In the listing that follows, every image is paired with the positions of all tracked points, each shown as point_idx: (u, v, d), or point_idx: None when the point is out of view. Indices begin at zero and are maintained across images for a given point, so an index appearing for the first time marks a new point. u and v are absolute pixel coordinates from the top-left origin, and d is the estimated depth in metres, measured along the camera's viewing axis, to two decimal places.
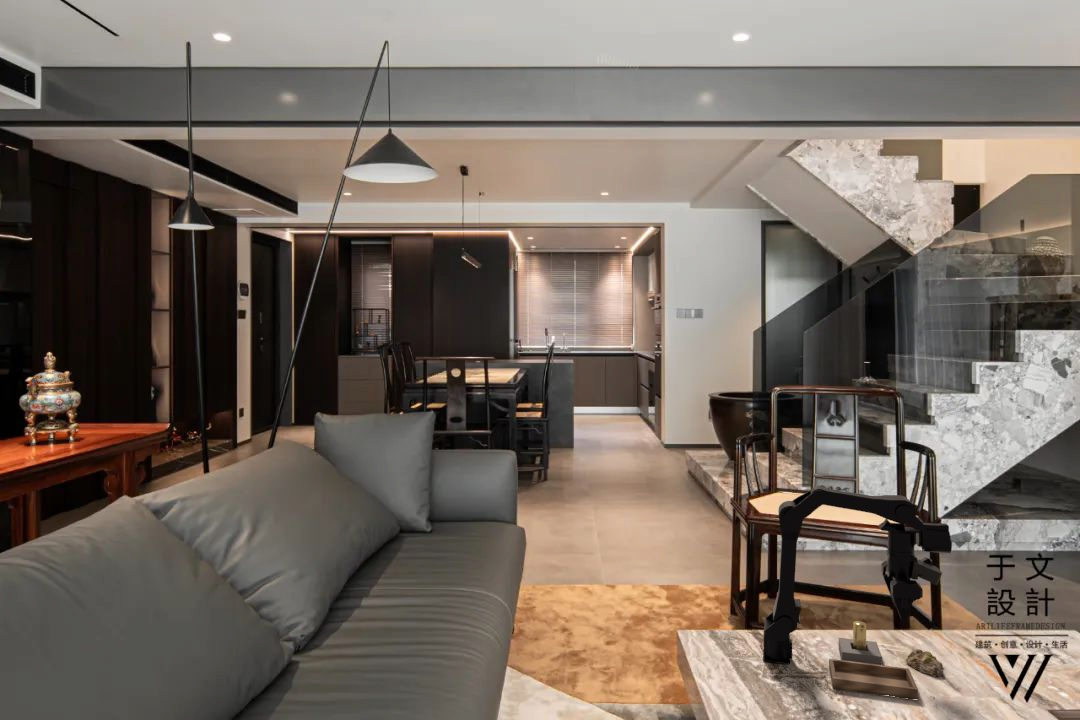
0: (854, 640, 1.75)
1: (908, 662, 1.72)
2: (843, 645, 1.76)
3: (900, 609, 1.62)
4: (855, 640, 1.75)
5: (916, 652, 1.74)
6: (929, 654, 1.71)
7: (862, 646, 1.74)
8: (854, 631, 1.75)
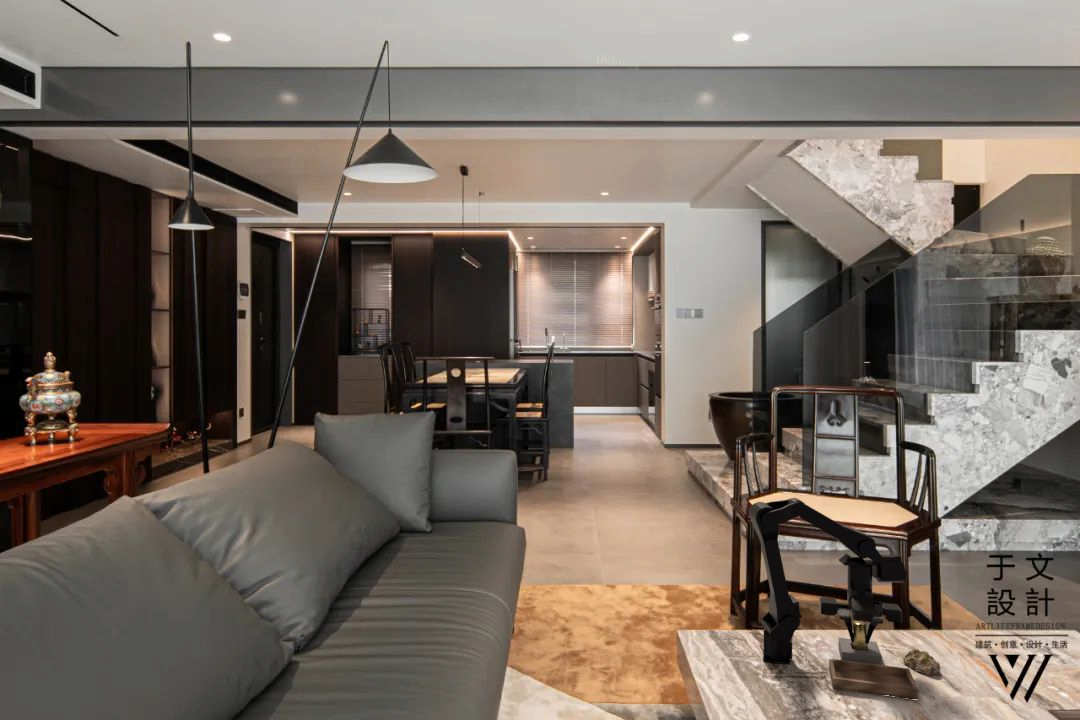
0: (854, 640, 1.75)
1: (905, 662, 1.72)
2: (843, 645, 1.76)
3: None
4: (855, 640, 1.75)
5: (913, 652, 1.74)
6: (926, 654, 1.71)
7: (862, 646, 1.74)
8: (854, 631, 1.75)
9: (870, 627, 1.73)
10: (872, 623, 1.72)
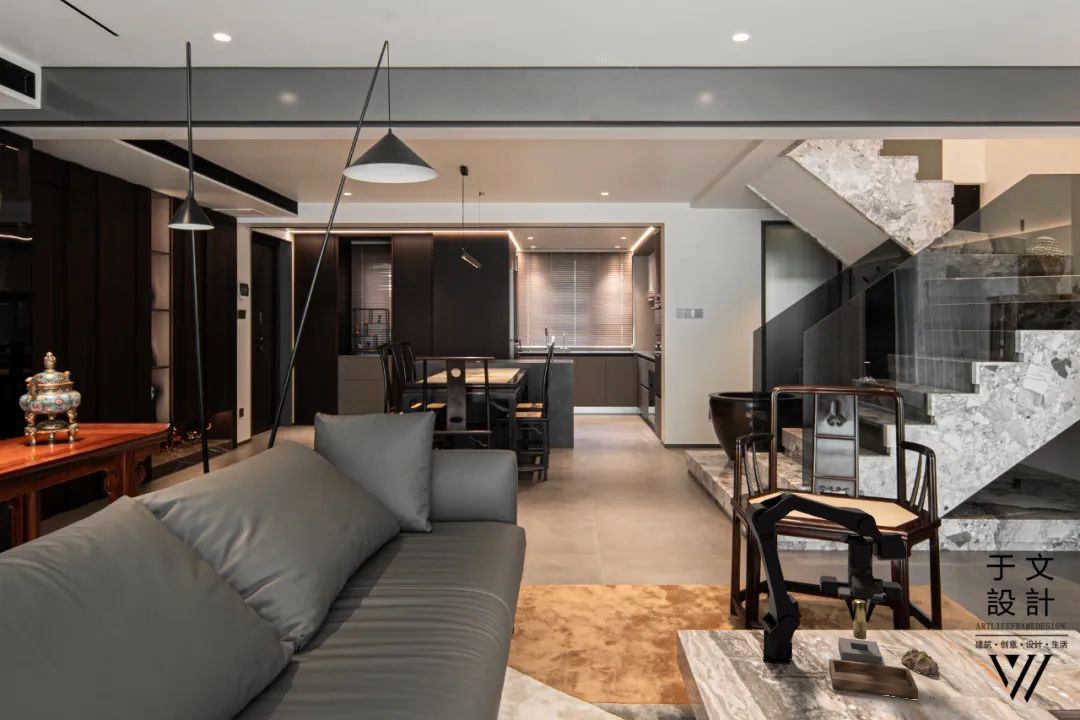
0: (854, 618, 1.75)
1: (903, 662, 1.72)
2: (843, 645, 1.76)
3: None
4: (855, 619, 1.75)
5: (911, 652, 1.74)
6: (924, 654, 1.71)
7: (862, 624, 1.74)
8: (854, 609, 1.75)
9: (870, 605, 1.73)
10: (872, 601, 1.72)
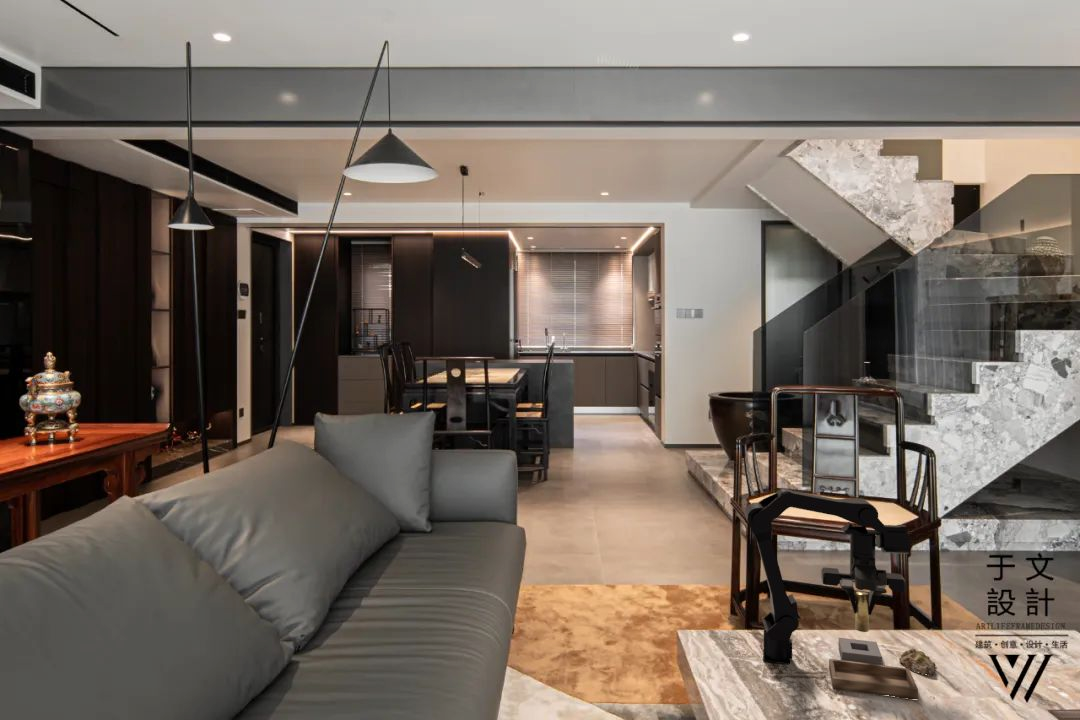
0: (857, 611, 1.72)
1: (901, 661, 1.72)
2: (843, 645, 1.76)
3: None
4: (857, 611, 1.72)
5: (909, 652, 1.74)
6: (922, 654, 1.71)
7: (865, 616, 1.71)
8: (857, 601, 1.72)
9: (873, 597, 1.70)
10: (875, 593, 1.69)
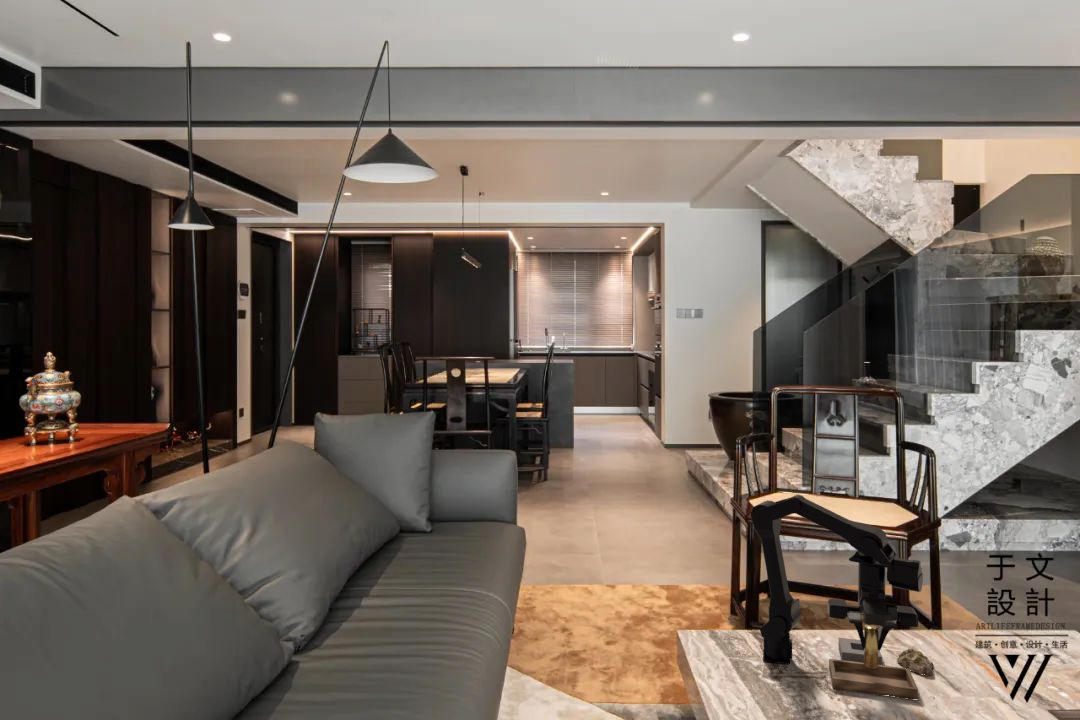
0: (865, 645, 1.62)
1: (899, 661, 1.72)
2: (843, 645, 1.76)
3: None
4: (866, 646, 1.62)
5: (907, 651, 1.74)
6: (920, 654, 1.72)
7: (874, 652, 1.61)
8: (865, 636, 1.62)
9: (883, 632, 1.60)
10: (885, 627, 1.59)
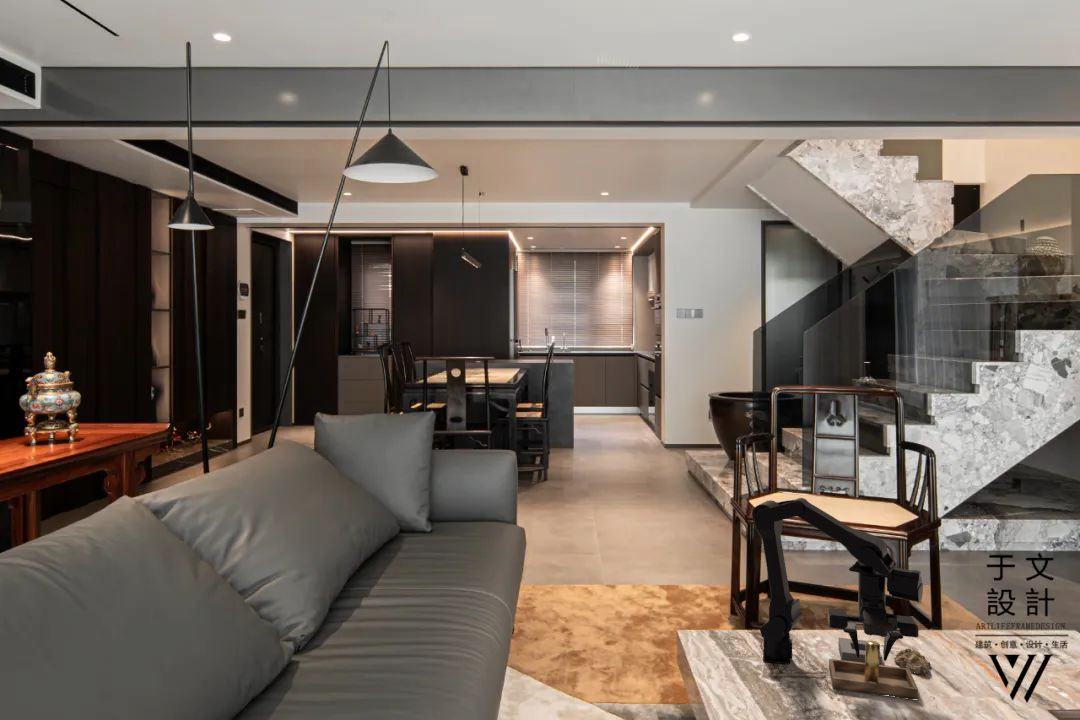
0: (866, 661, 1.62)
1: (896, 661, 1.73)
2: (843, 645, 1.76)
3: None
4: (867, 662, 1.62)
5: (905, 651, 1.74)
6: (917, 653, 1.72)
7: (875, 668, 1.61)
8: (866, 651, 1.62)
9: (888, 642, 1.60)
10: (891, 638, 1.59)
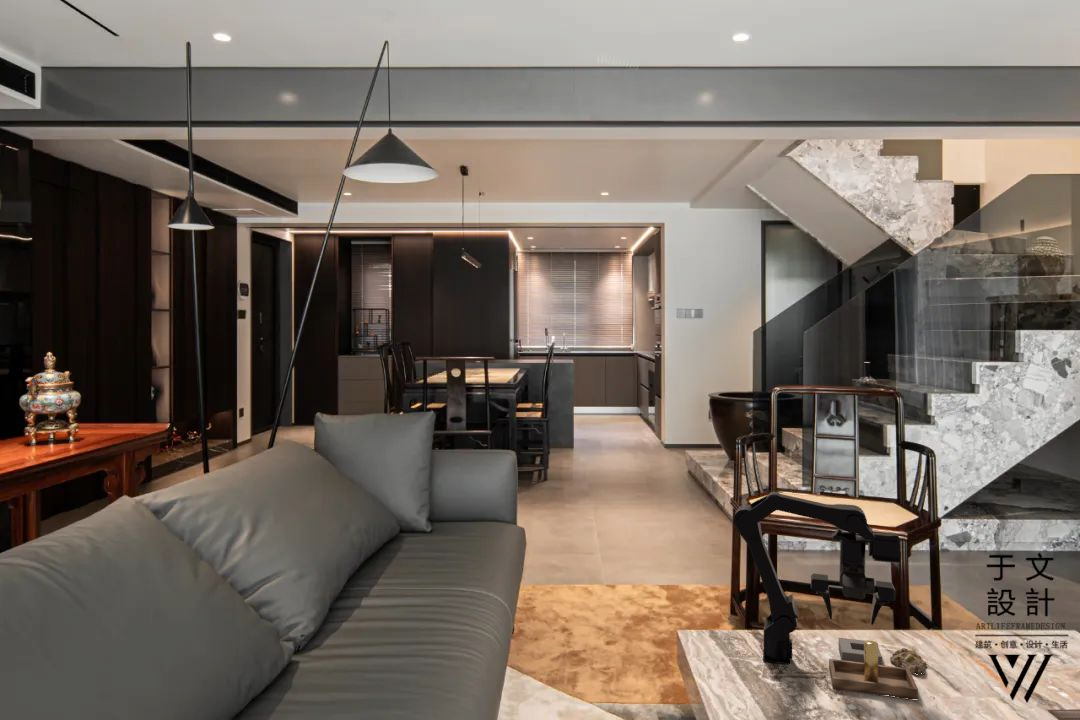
0: (865, 661, 1.62)
1: (891, 660, 1.73)
2: (843, 645, 1.76)
3: None
4: (866, 662, 1.62)
5: (901, 651, 1.75)
6: (913, 653, 1.72)
7: (874, 667, 1.61)
8: (865, 651, 1.62)
9: (875, 607, 1.67)
10: (877, 602, 1.66)
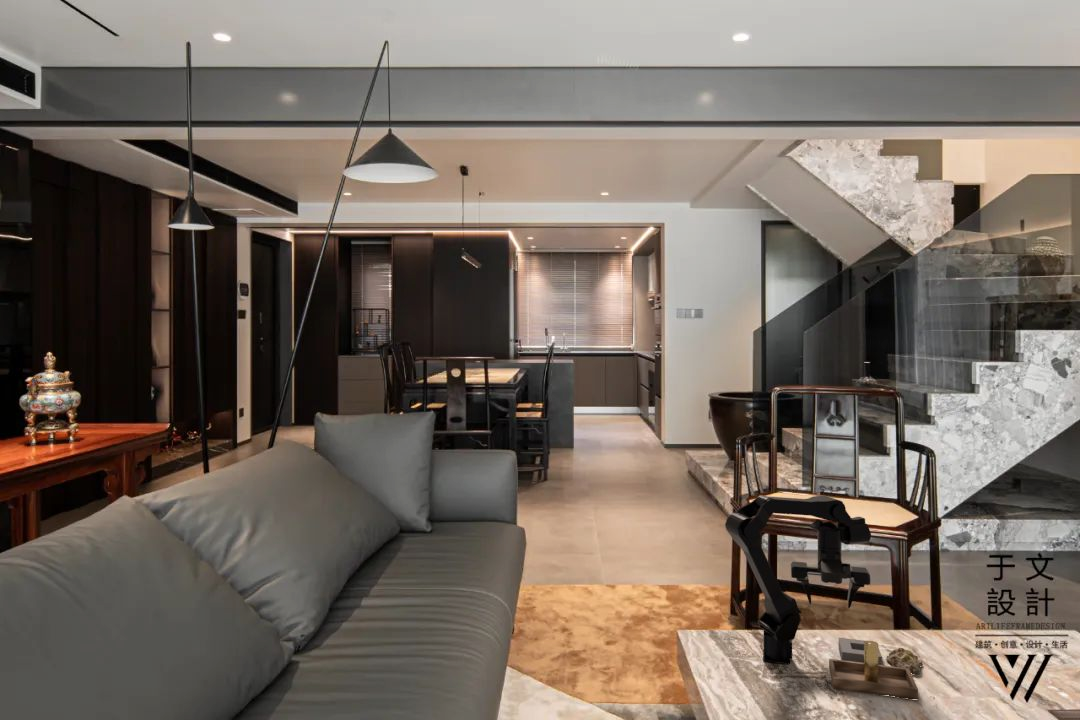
0: (865, 661, 1.62)
1: (887, 659, 1.73)
2: (843, 645, 1.76)
3: None
4: (866, 662, 1.62)
5: (897, 650, 1.75)
6: (909, 653, 1.72)
7: (874, 667, 1.61)
8: (865, 651, 1.62)
9: (852, 591, 1.76)
10: (853, 587, 1.75)
